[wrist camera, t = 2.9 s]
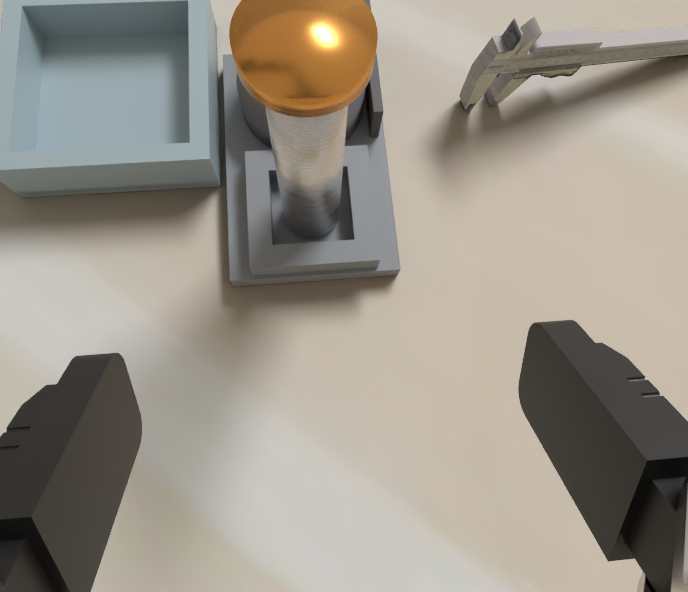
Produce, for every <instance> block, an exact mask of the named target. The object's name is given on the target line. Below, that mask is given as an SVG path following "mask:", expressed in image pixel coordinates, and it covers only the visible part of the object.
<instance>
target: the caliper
mask: <svg viewBox="0 0 688 592" xmlns="http://www.w3.org/2000/svg"><path fill="white" fill-rule="evenodd" d="M683 55H688V26H681V27H669V28H657V29H645V30H633V31H621V32H609V33H598V31H597V29H596V28H590V29H574V30H558V31H543V32H542V31H541V29H540V27H539V25H538V23H537V21H536V19H535V17H534V18H532V19H531V20H529V21H528V22H527V23H526V24H524V25H523V26H522V27H521V28H520V27H519V25H518V22H517V20H516V19H515V18H514V19H513V21H512V22H511V24H510V25H509V26H508V28H507V29H506V31H505V32H504V34H503V35H502V36H496V37H492V38H491V40H490V41H489V42H488V44H487V45H486V46H485V48H484V49H483V50H482V52H481V53H480V55H479V56H478V57H477V59H476V60H475V61H474V63H473V64H472V66H471V69H470V71H469V73H468V76H467V78H466V80H465V83H464V85H463V88H462V90H461V93H460V99H461V101H462V104H463V106H464V109H465V110H466V111H471V110H472V109H473V107H474V106H475V105H476V103H477V102H478V101H479V99H480V98H481V97H482V96H483V94H485V96H486V98H487V101H488V103H489V105H490V106H495V105H498V104H499V103H500V102H502V101H503V100H504V99H505V98H506V97H507V96H508V95H510V94H511V93H512V92H513V91H514V90H515V89H516V88H518V87H519V86H520V85H521V84H522V83H523V82H524V81H526V80H527V79H528V78H529V77H530V76H531V75H538V74H540V75H541V76H544V77H549V78H553V77H557V76H562V75H563V76H572V75H573V74H574V73H575V72H576V71H577V70H578V69H579V68H580V67H581V66H587V65H597V64H606V63H615V62H625V61H634V60H643V59H653V58H663V57H673V56H683Z"/></svg>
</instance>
